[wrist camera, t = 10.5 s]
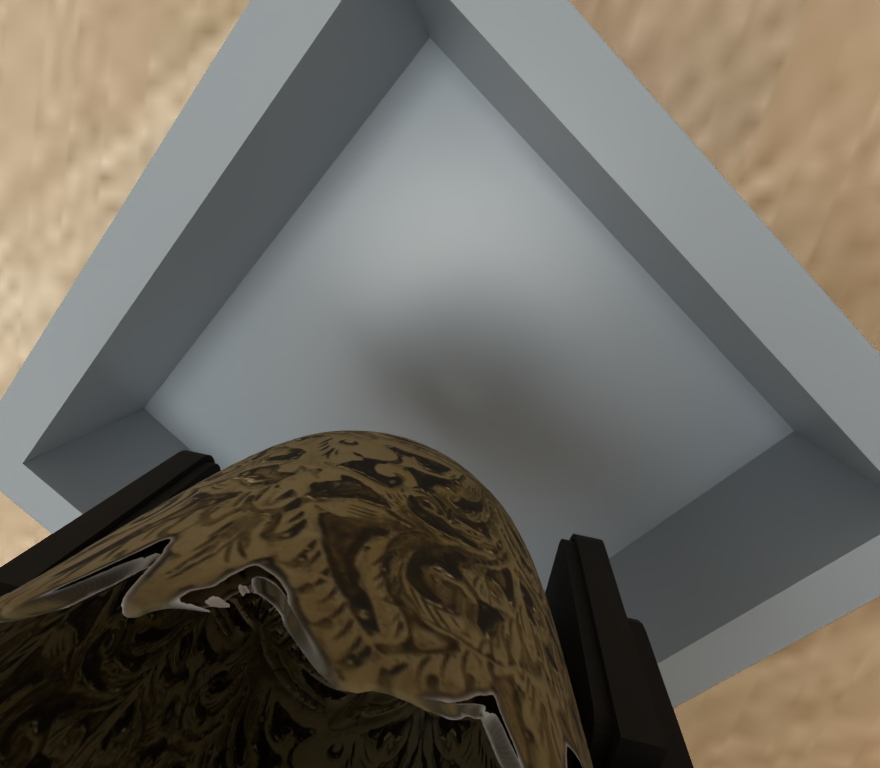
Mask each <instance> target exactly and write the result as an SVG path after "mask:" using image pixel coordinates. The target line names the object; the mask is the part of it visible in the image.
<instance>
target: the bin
mask: <svg viewBox="0 0 880 768" xmlns="http://www.w3.org/2000/svg"><path fill="white" fill-rule="evenodd" d="M343 430H350V431H373V432H381V433H388V434H392V435H396V436H400V437H404V438H408V439H410V440H413V441H416V442H419V443H422V444H424V445H426V446H428V447H431V448H433V449H435V450H437V451H439V452H441V453H443V454H444V455H446V456H448V457H449V458H451V459H452V460H454V461H456V462H457V463H458V464H460V465H461V466H462V467H464V468H465V469H466V470H468V471H469V472H470V473H471V474H473V475H474V476H475V477H476V478H477V479H478V480H479V481H480V482H481V483H482V484H483V485H484V486H485V487H486V488H487V489H488V490H489V491H490V492H491V493H492V494H493V495H494V496H495V498H496V499H497V500H498V501H499V502H500V503H501V505H502V506H503V507H504V509H505V510H506V512H507V513H508V515H509V516H510V517H511V519H512V520H513V522H514V524H515V526H516V528H517V530H518V531H519V533H520V535H521V537H522V539H523V541H524V543H525V545H526V547H527V549H528V550H529V552H530V555H531V557H532V560H533V563H534V565H535V568H536V570H537V573H538V576H539V578H540V581H541V584H542V586H543V589H544V592H546V588H547V584H548V581H549V577H550V574H551V570H552V567H553V563H554V559H555V556H556V552H557V549H558V545H559V542H560V540H561V539H566V540H570V537H571V536H572V534H578V535H583V536H587V537H592V538H597V539H601V540H603V542H604V544H605V548H606V551H607V554H608V557H609V561H610V564H611V567H612V570H613V573H614V577H615V580H616V583H617V586H618V590H619V593H620V596H621V599H622V603H623V606H624V609H625V612H626V615H627V618H632V619H636V620H639V621H640V622H641V623H642V624H643V626H644V628H645V630H646V632H647V635H648V638H649V641H650V644H651V647H652V649H653V652H654V655H655V658H656V661H657V664H658V667H659V670H660V672H661V675H662V678H663V681H664V684H665V687H666V690H667V693H668V696H669V698H670V701H671V704H672V707H673V708H674V707H676V706H678V705H680V704H681V703H683V702H685V701H687V700H689V699H691V698H693V697H694V696H696V695H698V694H700V693H702V692H704V691H706V690H707V689H709V688H711V687H713V686H715V685H717V684H718V683H720V682H722V681H724V680H726V679H728V678H730V677H731V676H733V675H735V674H737V673H739V672H741V671H742V670H744V669H746V668H748V667H750V666H752V665H754V664H755V663H757V662H759V661H761V660H763V659H765V658H767V657H768V656H770V655H772V654H774V653H776V652H778V651H779V650H781V649H783V648H785V647H787V646H789V645H791V644H792V643H794V642H796V641H798V640H800V639H802V638H804V637H805V636H807V635H809V634H811V633H813V632H815V631H816V630H818V629H820V628H822V627H824V626H826V625H828V624H829V623H831V622H833V621H835V620H837V619H839V618H840V617H842V616H844V615H846V614H848V613H850V612H852V611H853V610H855V609H857V608H859V607H861V606H863V605H865V604H866V603H868V602H870V601H872V600H874V599H876V598H877V597H879V596H880V355H879V353H878V352H877V351H876V350H875V349H874V348H873V347H872V345H871V344H870V343H869V342H868V341H867V340H866V339H865V337H864V336H863V335H862V334H861V333H860V332H859V331H858V329H857V328H856V327H855V326H854V325H853V324H852V323H851V321H850V320H849V319H848V318H847V317H846V316H845V315H844V314H843V312H842V311H841V310H840V309H839V308H838V307H837V306H836V304H835V303H834V302H833V301H832V300H831V299H830V298H829V296H828V295H827V294H826V293H825V292H824V291H823V290H822V288H821V287H820V286H819V285H818V284H817V283H816V282H815V281H814V279H813V278H812V277H811V276H810V275H809V274H808V273H807V271H806V270H805V269H804V268H803V267H802V266H801V265H800V263H799V262H798V261H797V260H796V259H795V258H794V257H793V255H792V254H791V253H790V252H789V251H788V250H787V249H786V247H785V246H784V245H783V244H782V243H781V242H780V241H779V240H778V238H777V237H776V236H775V235H774V234H773V233H772V232H771V230H770V229H769V228H768V227H767V226H766V225H765V224H764V222H763V221H762V220H761V219H760V218H759V217H758V216H757V214H756V213H755V212H754V211H753V210H752V209H751V208H750V206H749V205H748V204H747V203H746V202H745V201H744V200H743V199H742V197H741V196H740V195H739V194H738V193H737V192H736V191H735V189H734V188H733V187H732V186H731V185H730V184H729V183H728V181H727V180H726V179H725V178H724V177H723V176H722V175H721V173H720V172H719V171H718V170H717V169H716V168H715V167H714V166H713V164H712V163H711V162H710V161H709V160H708V159H707V158H706V156H705V155H704V154H703V153H702V152H701V151H700V150H699V148H698V147H697V146H696V145H695V144H694V143H693V142H692V140H691V139H690V138H689V137H688V136H687V135H686V134H685V132H684V131H683V130H682V129H681V128H680V127H679V126H678V125H677V123H676V122H675V121H674V120H673V119H672V118H671V117H670V115H669V114H668V113H667V112H666V111H665V110H664V109H663V107H662V106H661V105H660V104H659V103H658V102H657V101H656V99H655V98H654V97H653V96H652V95H651V94H650V93H649V91H648V90H647V89H646V88H645V87H644V86H643V85H642V84H641V82H640V81H639V80H638V79H637V78H636V77H635V76H634V74H633V73H632V72H631V71H630V70H629V69H628V68H627V66H626V65H625V64H624V63H623V62H622V61H621V60H620V58H619V57H618V56H617V55H616V54H615V53H614V52H613V51H612V49H611V48H610V47H609V46H608V45H607V44H606V43H605V41H604V40H603V39H602V38H601V37H600V36H599V35H598V33H597V32H596V31H595V30H594V29H593V28H592V27H591V25H590V24H589V23H588V22H587V21H586V20H585V19H584V17H583V16H582V15H581V14H580V13H579V12H578V11H577V10H576V8H575V7H574V6H573V5H572V4H571V3H570V2H569V0H251V1H250V2H249V4H248V5H247V7H246V9H245V10H244V12H243V13H242V15H241V17H240V18H239V20H238V21H237V23H236V25H235V26H234V28H233V29H232V31H231V33H230V34H229V36H228V37H227V39H226V41H225V42H224V44H223V45H222V47H221V49H220V50H219V52H218V53H217V55H216V57H215V58H214V60H213V61H212V63H211V65H210V66H209V68H208V69H207V71H206V73H205V74H204V76H203V77H202V79H201V81H200V82H199V84H198V85H197V87H196V89H195V90H194V92H193V93H192V95H191V97H190V98H189V100H188V101H187V103H186V105H185V106H184V108H183V109H182V111H181V113H180V114H179V116H178V117H177V119H176V121H175V122H174V124H173V125H172V127H171V129H170V130H169V132H168V133H167V135H166V137H165V138H164V140H163V141H162V143H161V145H160V146H159V148H158V149H157V151H156V153H155V154H154V156H153V157H152V159H151V161H150V162H149V164H148V165H147V167H146V169H145V170H144V172H143V173H142V175H141V177H140V178H139V180H138V181H137V183H136V185H135V186H134V188H133V189H132V191H131V193H130V194H129V196H128V197H127V199H126V201H125V202H124V204H123V205H122V207H121V209H120V210H119V212H118V213H117V215H116V217H115V218H114V220H113V221H112V223H111V225H110V226H109V228H108V229H107V231H106V233H105V234H104V236H103V237H102V239H101V241H100V242H99V244H98V245H97V247H96V249H95V250H94V252H93V253H92V255H91V257H90V258H89V260H88V261H87V263H86V265H85V266H84V268H83V269H82V271H81V273H80V274H79V276H78V277H77V279H76V281H75V282H74V284H73V285H72V287H71V289H70V290H69V292H68V293H67V295H66V297H65V298H64V300H63V301H62V303H61V305H60V306H59V308H58V309H57V311H56V313H55V314H54V316H53V317H52V319H51V321H50V322H49V324H48V325H47V327H46V329H45V330H44V332H43V333H42V335H41V337H40V338H39V340H38V341H37V343H36V345H35V346H34V348H33V349H32V351H31V353H30V354H29V356H28V357H27V359H26V361H25V362H24V364H23V365H22V367H21V369H20V370H19V372H18V373H17V375H16V377H15V378H14V380H13V381H12V383H11V385H10V386H9V388H8V389H7V391H6V393H5V394H4V396H3V397H2V399H1V401H0V491H1V492H2V493H3V494H5V495H6V496H7V497H8V498H9V499H11V500H12V501H13V502H14V503H15V504H17V505H18V506H19V507H20V508H21V509H23V510H24V511H25V512H26V513H27V514H29V515H30V516H31V517H32V518H33V519H35V520H36V521H37V522H38V523H40V524H41V525H42V526H43V527H44V528H46V529H47V530H48V531H49V532H50V533H52V534H53V533H54V532H56V531H58V530H59V529H61V528H62V527H64V526H65V525H67V524H68V523H70V522H71V521H73V520H75V519H76V518H78V517H79V516H81V515H82V514H84V513H85V512H87V511H88V510H90V509H92V508H93V507H95V506H96V505H98V504H99V503H101V502H102V501H104V500H105V499H107V498H109V497H110V496H112V495H113V494H115V493H116V492H118V491H119V490H121V489H122V488H124V487H125V486H127V485H129V484H130V483H132V482H133V481H135V480H136V479H138V478H139V477H141V476H142V475H144V474H146V473H147V472H149V471H150V470H152V469H153V468H155V467H156V466H158V465H159V464H161V463H163V462H164V461H166V460H167V459H169V458H170V457H172V456H173V455H175V454H176V453H178V452H180V451H182V450H188V451H193V452H198V453H202V454H207V455H211V456H212V457H213V458H214V461H215V464H218V465H219V466H220V469H221V470H223V469H225V468H227V467H229V466H231V465H232V464H234V463H237V462H239V461H241V460H243V459H245V458H247V457H249V456H251V455H254V454H256V453H258V452H260V451H263V450H265V449H267V448H269V447H272V446H274V445H277V444H281V443H284V442H287V441H290V440H293V439H296V438H300V437H303V436H306V435H312V434H317V433H322V432H330V431H343Z"/></svg>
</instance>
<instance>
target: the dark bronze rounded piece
mask: <svg viewBox="0 0 880 768" xmlns="http://www.w3.org/2000/svg"><path fill="white" fill-rule="evenodd" d="M570 749H571V750H572V751H573V752H574V754H575V755H576V756H577V758H578V759H579V761H580V763H581V765H582V767H583V768H593V765H592V761H591V757H590V753H589V749H588V746H587V742H586V738H585V734H584V730H583V727H582V723H581V719H580V715H579V711H578V708H577V704H576V700H575V696H574V693H573V689H572V685H571V682H570V678H569V674H568V671H567V667H566V663H565V660H564V656H563V652H562V649H561V645H560V641H559V638H558V634H557V631H556V627H555V624H554V620H553V617H552V614H551V610H550V607H549V604H548V601H547V598H546V594H545V592H544V589H543V586H542V584H541V581H540V578H539V576H538V573H537V570H536V568H535V565H534V563H533V560H532V557H531V555H530V552H529V550H528V549H527V547H526V545H525V543H524V541H523V539H522V537H521V535H520V533H519V531H518V530H517V528H516V526H515V524H514V522H513V520H512V519H511V517H510V516H509V515H508V513H507V512H506V510H505V509H504V507H503V506H502V505H501V503H500V502H499V501H498V500H497V499H496V498H495V496H494V495H493V494H492V493H491V492H490V491H489V490H488V489H487V488H486V487H485V486H484V485H483V484H482V483H481V482H480V481H479V480H478V479H477V478H476V477H475V476H474V475H473V474H471V473H470V472H469V471H468V470H466V469H465V468H464V467H462V466H461V465H460V464H458V463H457V462H456V461H454V460H452V459H451V458H449V457H448V456H446V455H444V454H443V453H441V452H439V451H437V450H435V449H433V448H431V447H428V446H426V445H424V444H422V443H419V442H416V441H413V440H410V439H408V438H404V437H400V436H396V435H392V434H388V433H381V432H373V431H350V430H343V431H330V432H322V433H317V434H312V435H306V436H303V437H300V438H296V439H293V440H290V441H287V442H284V443H281V444H277V445H274V446H272V447H269V448H267V449H265V450H263V451H260V452H258V453H256V454H254V455H251V456H249V457H247V458H245V459H243V460H241V461H239V462H237V463H234V464H232V465H231V466H229V467H227V468H225V469H223V470H221V471H219V472H217V473H215V474H213V475H212V476H210V477H208V478H206V479H204V480H203V481H201V482H199V483H197V484H195V485H194V486H192V487H190V488H188V489H187V490H185V491H183V492H181V493H180V494H178V495H176V496H174V497H173V498H171V499H169V500H167V501H166V502H164V503H162V504H161V505H159V506H157V507H155V508H154V509H152V510H150V511H148V512H147V513H145V514H143V515H142V516H140V517H138V518H136V519H135V520H133V521H131V522H130V523H128V524H126V525H124V526H123V527H121V528H119V529H118V530H116V531H114V532H112V533H111V534H109V535H107V536H106V537H104V538H102V539H101V540H99V541H97V542H95V543H94V544H92V545H90V546H89V547H87V548H85V549H84V550H82V551H80V552H79V553H77V554H75V555H74V556H72V557H70V558H68V559H67V560H65V561H63V562H62V563H60V564H58V565H57V566H55V567H53V568H52V569H50V570H48V571H46V572H45V573H43V574H41V575H40V576H38V577H36V578H35V579H33V580H31V581H29V582H28V583H26V584H24V585H22V586H21V587H19V588H17V589H15V590H14V591H12V592H10V593H7V594H5V595H3V596H1V597H0V768H574V765H573V760H572V756H571V751H570Z"/></svg>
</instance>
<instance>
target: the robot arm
mask: <svg viewBox="0 0 880 768" xmlns="http://www.w3.org/2000/svg"><path fill="white" fill-rule="evenodd" d="M219 471H221V469H220V466H219V465H218V464H215V461H214V458H213V457H212V456H211V455H207V454H202V453H198V452H193V451H188V450H182V451H180V452H178V453H176V454H175V455H173V456H172V457H170V458H169V459H167V460H166V461H164V462H163V463H161V464H159V465H158V466H156V467H155V468H153V469H152V470H150V471H149V472H147V473H146V474H144V475H142V476H141V477H139V478H138V479H136V480H135V481H133V482H132V483H130V484H129V485H127V486H125V487H124V488H122V489H121V490H119V491H118V492H116V493H115V494H113V495H112V496H110V497H109V498H107V499H105V500H104V501H102V502H101V503H99V504H98V505H96V506H95V507H93V508H92V509H90V510H88V511H87V512H85V513H84V514H82V515H81V516H79V517H78V518H76V519H75V520H73V521H71V522H70V523H68V524H67V525H65V526H64V527H62V528H61V529H59V530H58V531H56V532H54V533H53V534H51V535H50V536H48V537H47V538H45V539H44V540H42V541H41V542H39V543H37V544H36V545H34V546H33V547H31V548H30V549H28V550H27V551H25V552H24V553H22V554H20V555H19V556H17V557H16V558H14V559H13V560H11V561H10V562H8V563H7V564H5V565H3V566H2V567H0V597H1V596H3V595H5V594H7V593H10V592H12V591H14V590H15V589H17V588H19V587H21V586H22V585H24V584H26V583H28V582H29V581H31V580H33V579H35V578H36V577H38V576H40V575H41V574H43V573H45V572H46V571H48V570H50V569H52V568H53V567H55V566H57V565H58V564H60V563H62V562H63V561H65V560H67V559H68V558H70V557H72V556H74V555H75V554H77V553H79V552H80V551H82V550H84V549H85V548H87V547H89V546H90V545H92V544H94V543H95V542H97V541H99V540H101V539H102V538H104V537H106V536H107V535H109V534H111V533H112V532H114V531H116V530H118V529H119V528H121V527H123V526H124V525H126V524H128V523H130V522H131V521H133V520H135V519H136V518H138V517H140V516H142V515H143V514H145V513H147V512H148V511H150V510H152V509H154V508H155V507H157V506H159V505H161V504H162V503H164V502H166V501H167V500H169V499H171V498H173V497H174V496H176V495H178V494H180V493H181V492H183V491H185V490H187V489H188V488H190V487H192V486H194V485H195V484H197V483H199V482H201V481H203V480H204V479H206V478H208V477H210V476H212V475H213V474H215V473H217V472H219ZM545 594H546V598H547V601H548V604H549V607H550V610H551V614H552V617H553V620H554V624H555V627H556V631H557V634H558V638H559V641H560V645H561V649H562V652H563V656H564V660H565V663H566V667H567V671H568V674H569V678H570V682H571V685H572V689H573V693H574V696H575V700H576V704H577V708H578V711H579V715H580V719H581V723H582V727H583V730H584V734H585V738H586V742H587V746H588V749H589V753H590V757H591V761H592V765H593V768H694V767H693V765H692V762H691V759H690V756H689V753H688V750H687V747H686V744H685V742H684V739H683V736H682V733H681V730H680V727H679V724H678V721H677V719H676V716H675V713H674V710H673V707H672V704H671V701H670V698H669V696H668V693H667V690H666V687H665V684H664V681H663V678H662V675H661V672H660V670H659V667H658V664H657V661H656V658H655V655H654V652H653V649H652V647H651V644H650V641H649V638H648V635H647V632H646V630H645V628H644V626H643V624H642V623H641V622H640V621H639V620H636V619H632V618H627V615H626V612H625V609H624V606H623V603H622V599H621V596H620V593H619V590H618V586H617V583H616V580H615V577H614V573H613V570H612V567H611V564H610V561H609V557H608V554H607V551H606V548H605V544H604V542H603V540H601V539H597V538H592V537H587V536H583V535H578V534H572V536H571V537H570V540H566V539H561V540H560V542H559V545H558V549H557V552H556V556H555V559H554V563H553V567H552V570H551V574H550V577H549V581H548V584H547V588H546V592H545ZM570 751H571V756H572V760H573V765H574V768H583V767H582V765H581V763H580V761H579V759H578V758H577V756H576V755H575V754H574V752H573V751H572V750H571V749H570Z"/></svg>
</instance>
